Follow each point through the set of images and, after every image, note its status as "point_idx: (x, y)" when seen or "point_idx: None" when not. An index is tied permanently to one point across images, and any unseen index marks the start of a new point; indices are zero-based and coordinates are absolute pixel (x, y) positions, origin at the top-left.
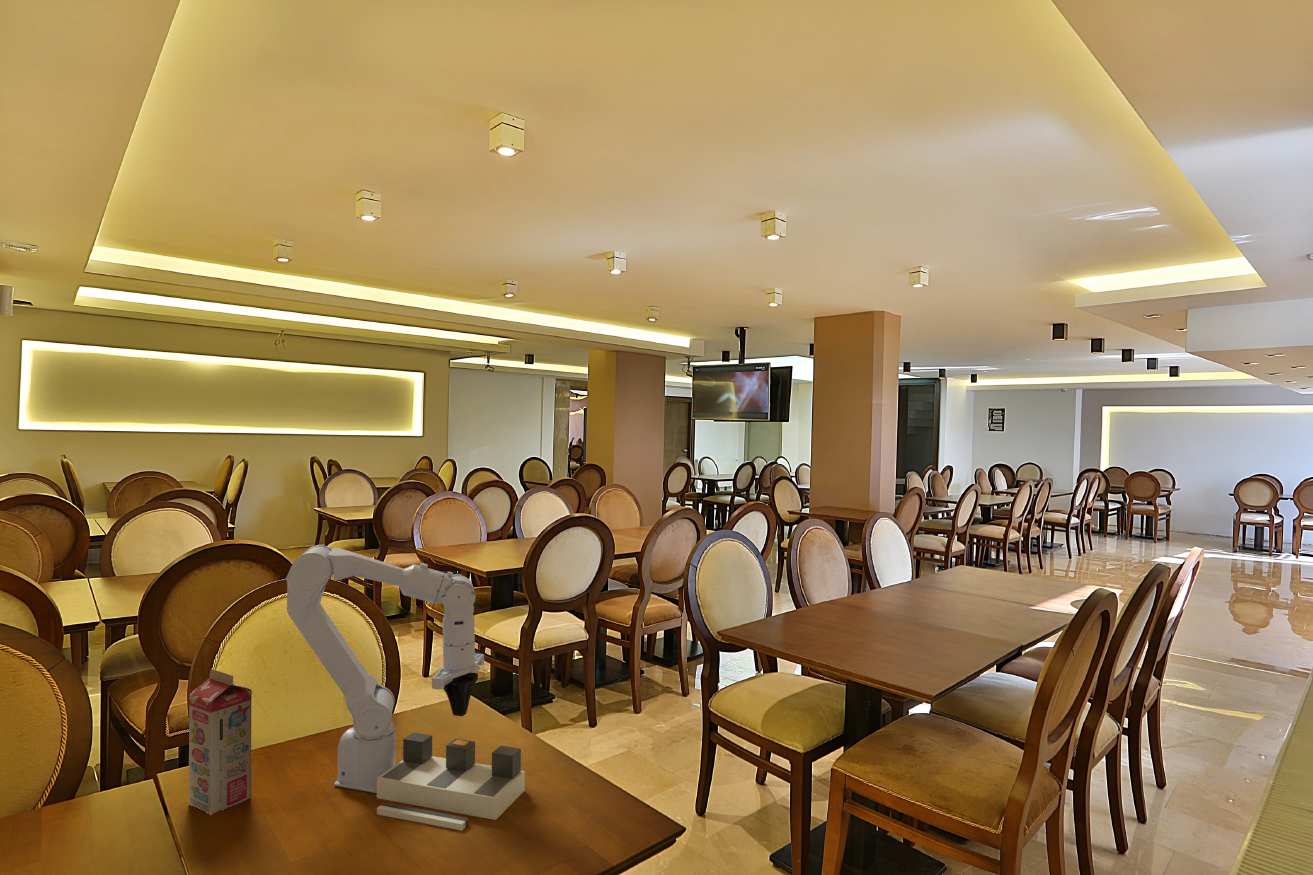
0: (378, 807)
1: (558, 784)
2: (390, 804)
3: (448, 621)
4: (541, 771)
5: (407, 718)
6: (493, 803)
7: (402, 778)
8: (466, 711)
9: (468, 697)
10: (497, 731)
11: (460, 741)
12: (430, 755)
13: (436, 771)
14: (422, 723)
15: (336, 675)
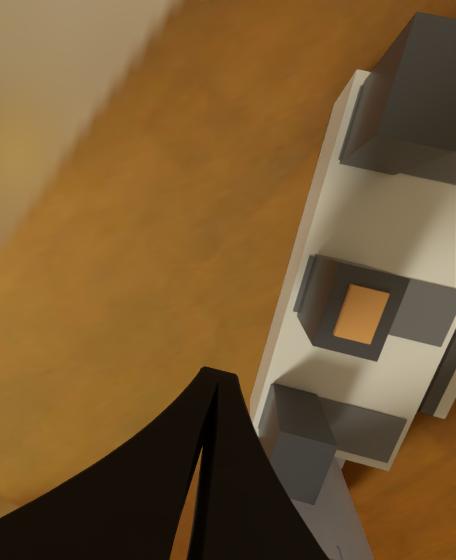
0: (440, 416)
1: (294, 7)
2: (428, 398)
3: None
4: (221, 88)
5: (18, 479)
6: None
7: (394, 415)
8: (207, 371)
9: (189, 421)
10: (26, 278)
11: (351, 318)
12: (280, 389)
13: None
14: (32, 447)
15: None
